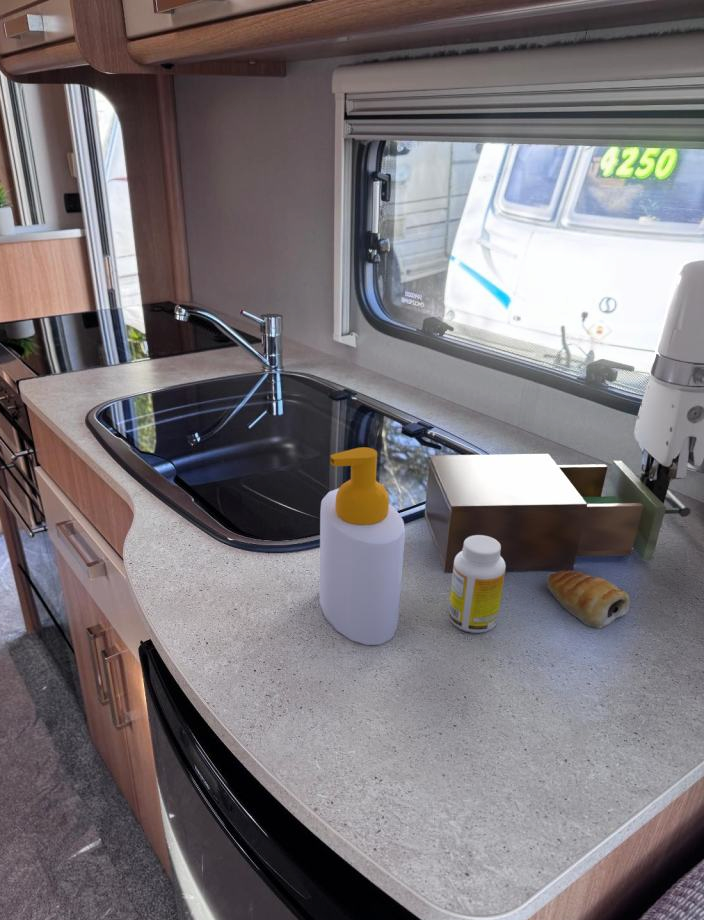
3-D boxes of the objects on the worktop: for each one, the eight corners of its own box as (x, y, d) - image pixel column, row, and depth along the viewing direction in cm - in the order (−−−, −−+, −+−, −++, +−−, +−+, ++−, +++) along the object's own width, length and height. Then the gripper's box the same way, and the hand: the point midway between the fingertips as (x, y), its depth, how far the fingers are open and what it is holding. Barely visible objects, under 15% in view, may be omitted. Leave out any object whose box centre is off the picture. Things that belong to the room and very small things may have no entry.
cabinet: (537, 514, 105) (548, 453, 100) (573, 570, 92) (587, 504, 87) (424, 516, 104) (429, 455, 99) (444, 572, 91) (451, 506, 87)
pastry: (532, 593, 87) (537, 567, 86) (568, 576, 91) (573, 550, 89) (597, 634, 81) (604, 606, 79) (633, 613, 84) (641, 586, 82)
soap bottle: (305, 587, 88) (305, 433, 78) (367, 575, 91) (374, 424, 81) (345, 655, 77) (351, 486, 67) (414, 638, 80) (430, 473, 70)
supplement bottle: (504, 616, 83) (517, 541, 78) (484, 641, 79) (496, 563, 74) (460, 599, 86) (469, 525, 81) (439, 623, 82) (447, 547, 77)
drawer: (648, 509, 104) (661, 460, 101) (695, 559, 93) (711, 506, 89) (504, 511, 103) (511, 462, 100) (532, 562, 92) (542, 508, 88)
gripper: (750, 390, 81) (704, 531, 90) (685, 351, 94) (651, 477, 103) (685, 390, 81) (645, 531, 90) (629, 351, 94) (599, 477, 103)
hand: (648, 502), depth 96 cm, fingers closed
